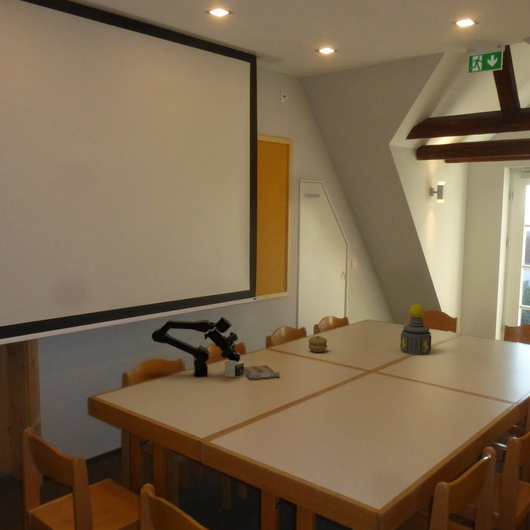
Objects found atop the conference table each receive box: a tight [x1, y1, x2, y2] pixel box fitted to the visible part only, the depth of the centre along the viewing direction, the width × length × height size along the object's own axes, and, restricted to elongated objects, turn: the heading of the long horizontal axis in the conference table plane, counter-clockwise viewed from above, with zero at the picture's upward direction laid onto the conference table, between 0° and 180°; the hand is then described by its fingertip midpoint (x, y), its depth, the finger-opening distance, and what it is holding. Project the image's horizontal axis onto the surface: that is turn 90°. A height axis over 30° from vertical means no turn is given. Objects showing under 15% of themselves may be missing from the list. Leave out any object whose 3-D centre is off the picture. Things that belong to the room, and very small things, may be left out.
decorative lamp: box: [400, 303, 432, 356], centre depth 355 cm, size 19×19×30 cm
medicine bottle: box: [224, 351, 245, 379], centre depth 301 cm, size 7×7×12 cm
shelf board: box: [244, 364, 281, 381], centre depth 305 cm, size 16×22×1 cm
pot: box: [307, 335, 328, 353], centre depth 354 cm, size 12×12×10 cm
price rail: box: [249, 371, 281, 379], centre depth 295 cm, size 16×2×2 cm, turn 108°
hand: (239, 359), depth 300 cm, fingers closed on medicine bottle, 6 cm apart
